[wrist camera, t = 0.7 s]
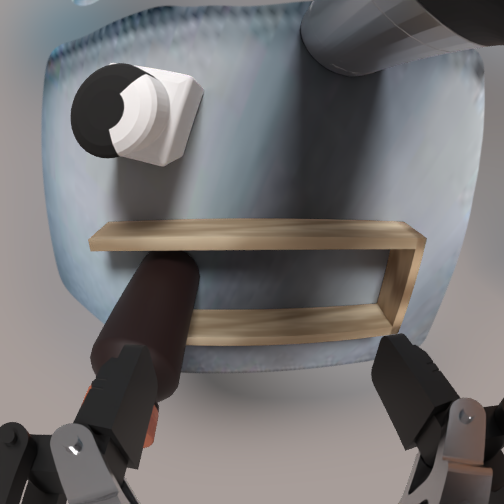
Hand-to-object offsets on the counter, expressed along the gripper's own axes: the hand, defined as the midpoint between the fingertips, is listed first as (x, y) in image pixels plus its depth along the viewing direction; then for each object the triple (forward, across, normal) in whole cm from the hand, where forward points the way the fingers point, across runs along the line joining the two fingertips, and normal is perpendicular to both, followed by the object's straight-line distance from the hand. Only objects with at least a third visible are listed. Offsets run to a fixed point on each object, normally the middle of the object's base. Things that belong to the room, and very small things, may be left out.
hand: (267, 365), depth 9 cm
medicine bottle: (+20, +8, -11) cm, 25 cm away
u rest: (+22, -1, +6) cm, 23 cm away
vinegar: (+22, +9, +6) cm, 24 cm away
